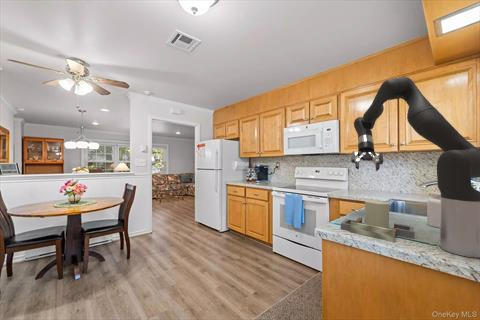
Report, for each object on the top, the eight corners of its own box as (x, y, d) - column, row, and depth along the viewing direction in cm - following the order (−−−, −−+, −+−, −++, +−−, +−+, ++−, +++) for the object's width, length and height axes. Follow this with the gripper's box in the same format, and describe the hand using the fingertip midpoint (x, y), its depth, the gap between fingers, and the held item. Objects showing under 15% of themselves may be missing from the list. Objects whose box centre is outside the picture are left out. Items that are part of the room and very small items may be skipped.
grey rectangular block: (394, 231, 85) (395, 203, 85) (372, 231, 85) (372, 202, 85) (380, 224, 94) (380, 198, 94) (359, 224, 94) (360, 198, 94)
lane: (397, 229, 87) (397, 220, 87) (394, 241, 74) (394, 230, 74) (359, 222, 96) (359, 214, 96) (350, 232, 84) (350, 222, 84)
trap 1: (355, 226, 91) (356, 220, 91) (351, 231, 85) (351, 225, 85) (346, 224, 94) (346, 218, 94) (340, 228, 87) (340, 223, 87)
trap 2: (413, 232, 84) (413, 226, 84) (413, 238, 77) (413, 232, 77) (397, 229, 87) (397, 224, 87) (396, 235, 81) (396, 228, 81)
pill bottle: (453, 230, 87) (454, 195, 87) (428, 226, 92) (428, 193, 92) (449, 225, 94) (450, 193, 94) (425, 222, 99) (426, 191, 99)
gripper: (352, 140, 113) (352, 164, 104) (382, 140, 107) (386, 166, 99) (350, 148, 118) (350, 172, 110) (379, 149, 113) (382, 174, 105)
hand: (367, 169), depth 104 cm, fingers open, 8 cm apart
